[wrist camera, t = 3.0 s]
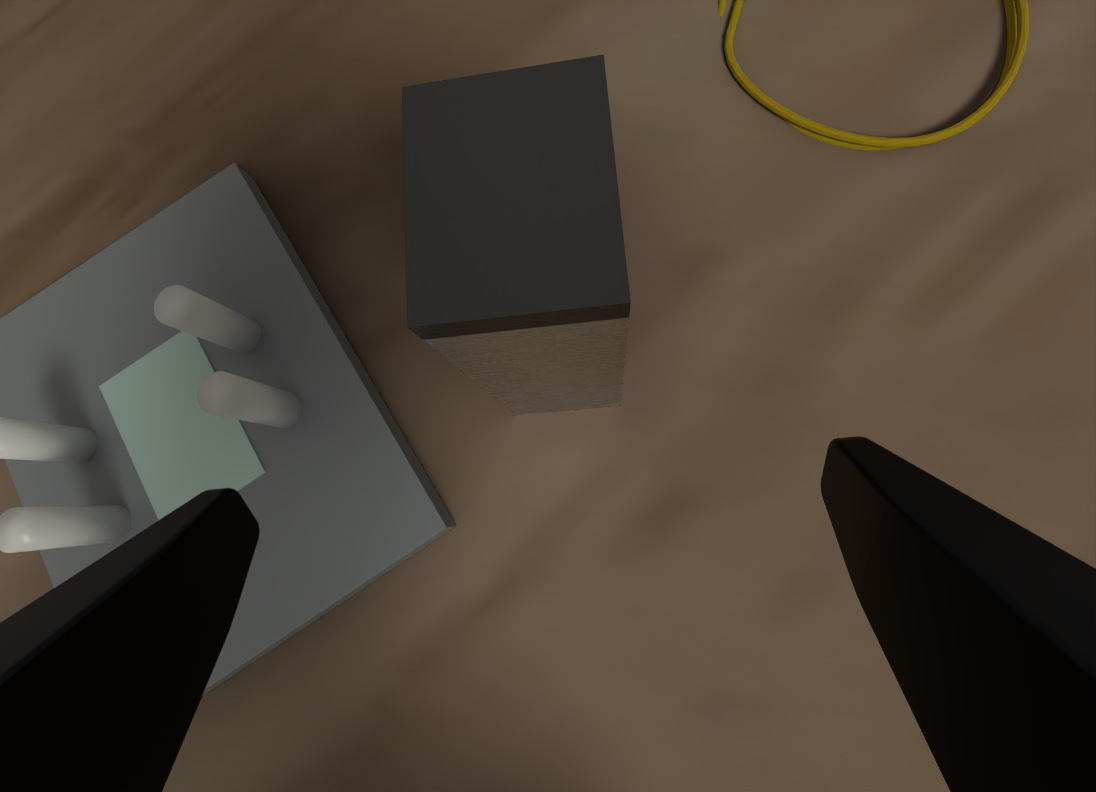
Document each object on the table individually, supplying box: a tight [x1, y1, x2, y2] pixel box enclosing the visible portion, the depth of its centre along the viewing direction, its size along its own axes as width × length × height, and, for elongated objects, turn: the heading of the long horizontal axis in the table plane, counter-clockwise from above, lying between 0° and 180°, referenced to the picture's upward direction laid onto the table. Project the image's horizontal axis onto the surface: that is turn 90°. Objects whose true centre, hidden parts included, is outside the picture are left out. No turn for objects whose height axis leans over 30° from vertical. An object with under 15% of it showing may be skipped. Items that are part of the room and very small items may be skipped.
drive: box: [402, 55, 630, 415], centre depth 15 cm, size 5×4×11 cm
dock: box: [0, 162, 456, 695], centre depth 19 cm, size 18×14×5 cm
